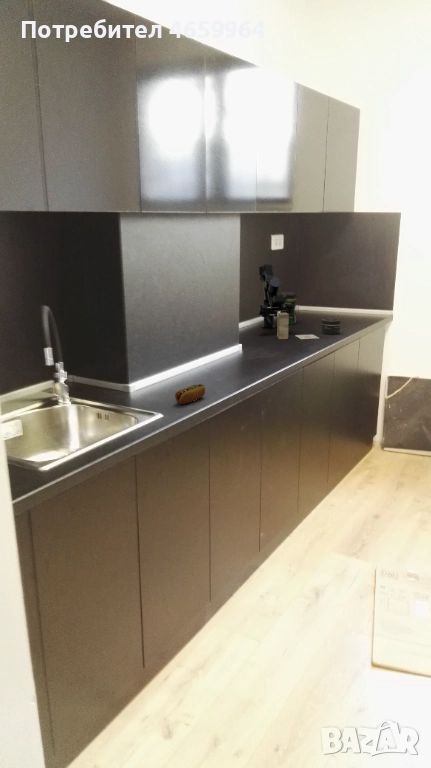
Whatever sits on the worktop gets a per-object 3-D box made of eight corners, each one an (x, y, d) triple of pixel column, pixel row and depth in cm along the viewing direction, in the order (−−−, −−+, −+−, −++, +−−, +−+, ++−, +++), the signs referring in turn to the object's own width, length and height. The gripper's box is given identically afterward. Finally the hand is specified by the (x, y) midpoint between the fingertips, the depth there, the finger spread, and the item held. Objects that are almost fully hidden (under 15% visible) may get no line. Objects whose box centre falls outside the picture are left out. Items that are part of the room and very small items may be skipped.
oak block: (277, 337, 301) (277, 313, 297) (285, 337, 302) (286, 312, 298) (279, 339, 297) (280, 314, 293) (288, 339, 297) (288, 314, 294)
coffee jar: (277, 324, 340) (278, 292, 335) (281, 321, 347) (281, 290, 342) (294, 325, 337) (295, 292, 331) (297, 322, 344) (298, 291, 339)
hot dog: (171, 404, 195) (171, 390, 194) (196, 395, 205) (196, 381, 204) (182, 407, 192) (182, 393, 191) (207, 397, 202) (207, 384, 201)
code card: (294, 335, 306) (294, 335, 306) (312, 335, 308) (312, 334, 307) (301, 339, 296) (301, 339, 296) (319, 338, 298) (319, 338, 298)
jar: (343, 333, 312) (343, 319, 310) (335, 336, 304) (335, 321, 302) (326, 331, 318) (326, 317, 315) (317, 334, 310) (318, 320, 308)
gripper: (260, 289, 301) (265, 314, 294) (294, 288, 305) (300, 312, 298) (255, 302, 311) (261, 326, 304) (289, 301, 315) (294, 325, 307)
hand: (279, 322), depth 303 cm, fingers open, 9 cm apart
